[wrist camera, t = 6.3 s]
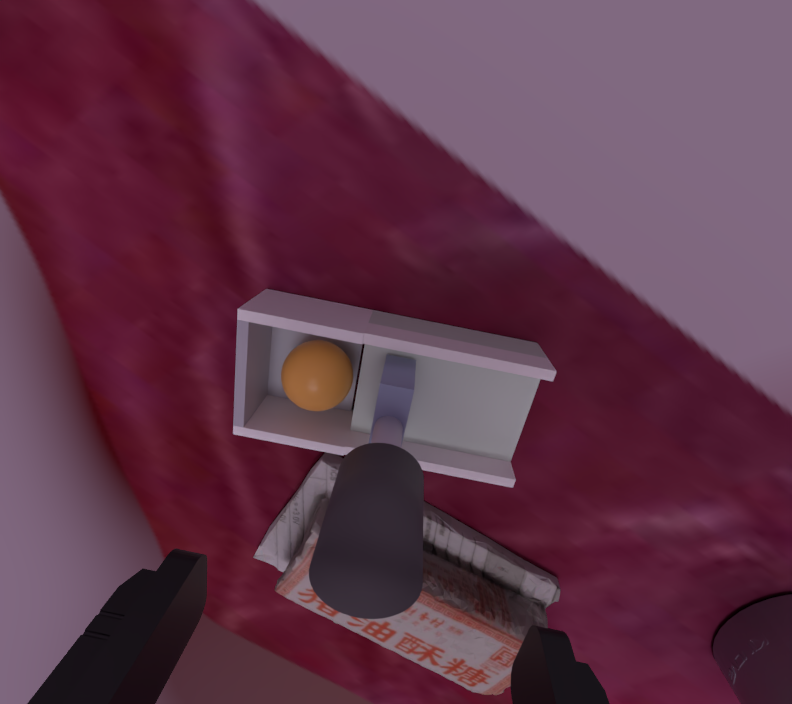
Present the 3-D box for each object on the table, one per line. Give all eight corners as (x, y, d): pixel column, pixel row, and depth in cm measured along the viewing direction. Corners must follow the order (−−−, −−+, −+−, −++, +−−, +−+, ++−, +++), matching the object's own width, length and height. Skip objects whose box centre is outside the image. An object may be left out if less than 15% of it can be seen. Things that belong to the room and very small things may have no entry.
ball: (276, 352, 18) (292, 324, 21) (270, 420, 20) (286, 384, 23) (356, 364, 19) (359, 335, 22) (345, 430, 20) (350, 393, 23)
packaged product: (587, 647, 23) (479, 726, 27) (562, 571, 28) (472, 648, 31) (304, 499, 21) (226, 608, 24) (326, 441, 25) (257, 541, 29)
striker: (432, 363, 20) (438, 535, 10) (415, 433, 21) (406, 639, 12) (370, 350, 20) (317, 511, 10) (357, 422, 21) (301, 619, 12)
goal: (373, 310, 21) (363, 333, 18) (354, 417, 24) (343, 455, 20) (266, 288, 21) (237, 308, 18) (259, 399, 24) (232, 434, 20)
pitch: (537, 342, 21) (556, 371, 18) (501, 446, 24) (512, 487, 21) (373, 310, 21) (364, 332, 18) (354, 417, 24) (343, 454, 21)
